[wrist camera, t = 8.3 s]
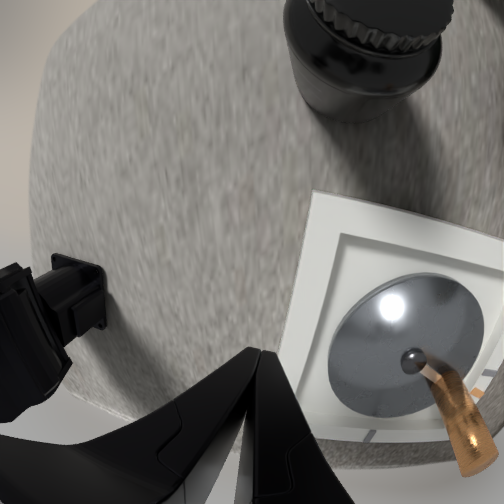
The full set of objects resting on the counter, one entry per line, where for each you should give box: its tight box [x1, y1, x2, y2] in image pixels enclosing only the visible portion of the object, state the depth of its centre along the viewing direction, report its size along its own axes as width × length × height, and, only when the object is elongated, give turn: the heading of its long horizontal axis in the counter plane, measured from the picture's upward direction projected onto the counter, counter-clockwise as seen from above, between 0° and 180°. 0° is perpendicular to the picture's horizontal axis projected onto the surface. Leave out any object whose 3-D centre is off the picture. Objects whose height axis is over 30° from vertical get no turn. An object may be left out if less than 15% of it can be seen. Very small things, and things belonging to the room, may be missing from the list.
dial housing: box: [277, 189, 504, 443], centre depth 19 cm, size 20×20×3 cm
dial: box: [327, 272, 499, 477], centre depth 15 cm, size 13×13×10 cm
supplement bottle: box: [283, 0, 454, 123], centre depth 10 cm, size 7×7×12 cm
